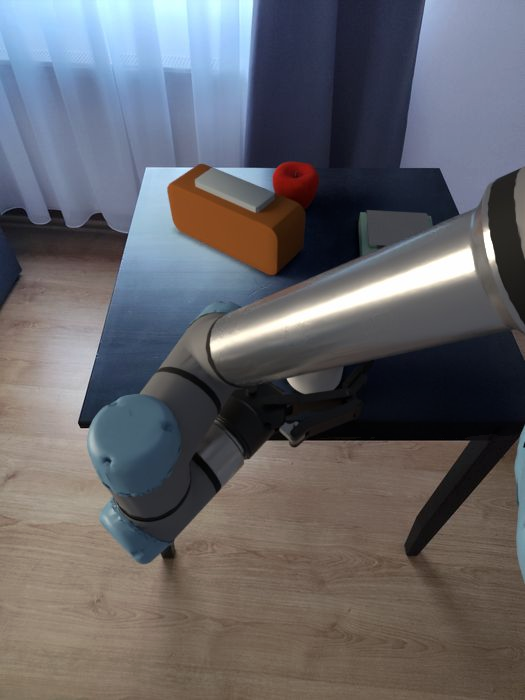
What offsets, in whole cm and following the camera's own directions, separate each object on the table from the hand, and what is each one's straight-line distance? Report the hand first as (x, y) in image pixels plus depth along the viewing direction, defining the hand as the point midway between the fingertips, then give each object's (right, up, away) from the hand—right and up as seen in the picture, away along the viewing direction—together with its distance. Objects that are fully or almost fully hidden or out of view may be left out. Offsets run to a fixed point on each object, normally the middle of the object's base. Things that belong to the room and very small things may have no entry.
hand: (330, 332), depth 65 cm
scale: (+15, +16, +21) cm, 31 cm away
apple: (-3, +26, +29) cm, 40 cm away
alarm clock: (-14, +18, +23) cm, 32 cm away
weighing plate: (+15, +19, +20) cm, 31 cm away
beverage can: (-2, -6, +4) cm, 7 cm away
